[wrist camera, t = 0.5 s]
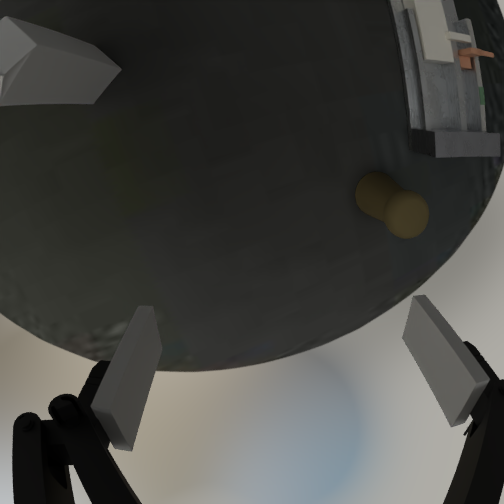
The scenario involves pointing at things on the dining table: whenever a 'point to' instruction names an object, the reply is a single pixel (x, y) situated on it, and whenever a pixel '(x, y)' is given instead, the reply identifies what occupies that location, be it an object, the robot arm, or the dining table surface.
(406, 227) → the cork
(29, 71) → the milk
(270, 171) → the dining table surface
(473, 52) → the brown l-shaped block
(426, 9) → the plunger
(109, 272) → the dining table surface
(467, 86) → the gauge housing
